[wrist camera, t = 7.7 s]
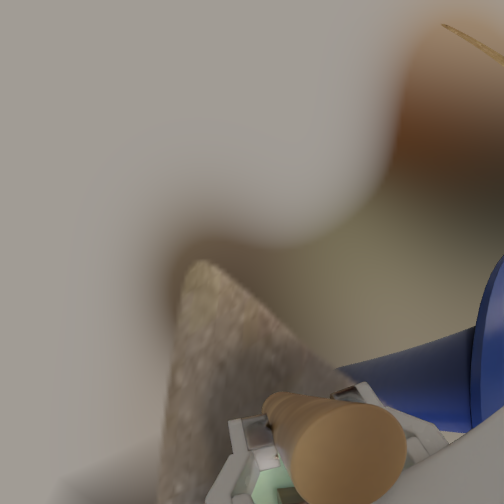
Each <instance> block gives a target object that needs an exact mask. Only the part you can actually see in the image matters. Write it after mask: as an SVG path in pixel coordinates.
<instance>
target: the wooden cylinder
mask: <svg viewBox="0 0 504 504" xmlns="http://www.w3.org/2000/svg"><path fill="white" fill-rule="evenodd" d="M264 413H267V416H268V420H269V424H270V428H271V430H272V433H273V438H274V443H275V446H276V449H277V451H278V453H279V455H280V457H281V459H282V462H283V464H284V466H285V468H286V470H287V472H288V474H289V476H290V478H291V480H292V483H293V485H294V487H295V489H296V491H297V492H298V493H299V495H300V496H301V497H302V498H303V499H304V500H305V501H306V502H308V503H309V504H371V503H373V502H375V501H377V500H378V499H379V498H381V497H382V496H383V495H384V494H385V493H387V492H388V491H389V490H390V488H391V487H392V486H393V485H394V484H395V482H396V481H397V479H398V478H399V476H400V474H401V472H402V470H403V467H404V464H405V461H406V455H407V441H406V437H405V433H404V431H403V428H402V426H401V424H400V423H399V421H398V420H397V419H396V418H395V417H394V416H393V415H392V414H391V413H390V412H388V411H387V410H385V409H384V408H381V407H379V406H376V405H373V404H367V403H358V402H350V401H341V400H334V399H327V398H320V397H313V396H307V395H301V394H295V393H290V392H277V393H274V394H272V395H270V396H269V397H268V398H267V399H266V400H265V402H264V404H263V406H262V414H264Z"/></svg>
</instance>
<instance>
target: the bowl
mask: <svg viewBox="0 0 504 504" xmlns="http://www.w3.org/2000/svg"><path fill="white" fill-rule="evenodd" d="M278 456H279V460H280V465H281V466H280V467H277V468H273V469H269V470H265V471H261V472H260V475H259V477H258V480H257V482H256V485H255V487H254V490H253V492H252V495H251V497H252V499H253V501H254V503H255V504H278V501H277V489H278V488H287V487H294V485H293V483H292V480H291V478H290V476H289V474H288V472H287V470H286V468H285V466H284V464H283V462H282V459H281V457H280V455H279V453H278Z"/></svg>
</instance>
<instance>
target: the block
mask: <svg viewBox="0 0 504 504" xmlns="http://www.w3.org/2000/svg"><path fill="white" fill-rule="evenodd" d="M277 501H278V504H309V503H308V502H306V501H305V500H304V499H303V498H302V497H301V496H300V495H299V493H298V492H297V491H296V489H295V487H287V488H278V489H277Z"/></svg>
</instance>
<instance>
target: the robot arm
mask: <svg viewBox="0 0 504 504" xmlns="http://www.w3.org/2000/svg"><path fill="white" fill-rule="evenodd" d="M330 399H334V400H341V401H350V402H358V403H367V404H373V405H376V406H379V407H381V408H384V406H383V405H382V403H381V402H380V400H379V399H378V397H377V396H376V395H375V393H374V392H373V390H372V389H371V387H370V386H369V385H368V383H367V382H362V383H360V384H357V385H354V386H351V387H348V388H346V389H343V390H340V391H337V392H334V393H332V394H330ZM384 409H385V410H387V411H388V412H390V413H391V414H392V415H393V416H394V417H395V418H396V419H397V420H398V421H399V423H400V424H401V426H402V428H403V431H404V433H405V437H406V441H407V455H406V461H405V464H404V467H403V470H402V472H401V474H400V476H399V478H398V479H397V481H396V482H395V484H394V485H393V486H392V487H391V488H390V490H389V491H388V492H387V493H385V494H384V495H383V496H382V497H381V498H379V499H378V500H377V501H375V502H373V503H371V504H504V406H503V407H501V408H500V409H499V410H498V411H496V412H495V413H494V414H492V415H491V416H490V417H488V418H487V419H486V420H484V421H483V422H482V423H480V424H479V425H478V426H476V427H475V428H473V429H472V430H470V431H469V432H467V433H466V434H465V435H463V436H461V437H460V438H459V439H457V440H455V441H454V442H452V443H451V444H449V443H448V442H447V441H446V439H445V438H444V436H443V435H442V434H441V433H440V431H439V430H438V429H437V427H436V426H435V425H434V424H433V423H430V422H427V421H424V420H422V419H419V418H416V417H414V416H411V415H408V414H406V413H403V412H401V411H398V410H395V409H393V408H390V407H388V406H387V407H385V408H384ZM228 427H229V433H230V439H231V444H232V450H233V454H231V455H229V457H228V459H227V461H226V462H225V464H224V466H223V468H222V470H221V471H220V473H219V475H218V477H217V479H216V480H215V482H214V484H213V486H212V487H211V489H210V491H209V492H208V494H207V496H206V498H205V504H255V503H254V501H253V499H252V497H251V495H252V492H253V490H254V487H255V485H256V482H257V480H258V477H259V475H260V472H261V471H265V470H269V469H273V468H277V467H280V466H281V465H280V460H279V456H278V451H277V449H276V446H275V443H274V438H273V433H272V430H271V428H270V424H269V420H268V416H267V413H264V414H259V415H254V416H250V417H244V418H239V419H235V420H229V421H228Z"/></svg>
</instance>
